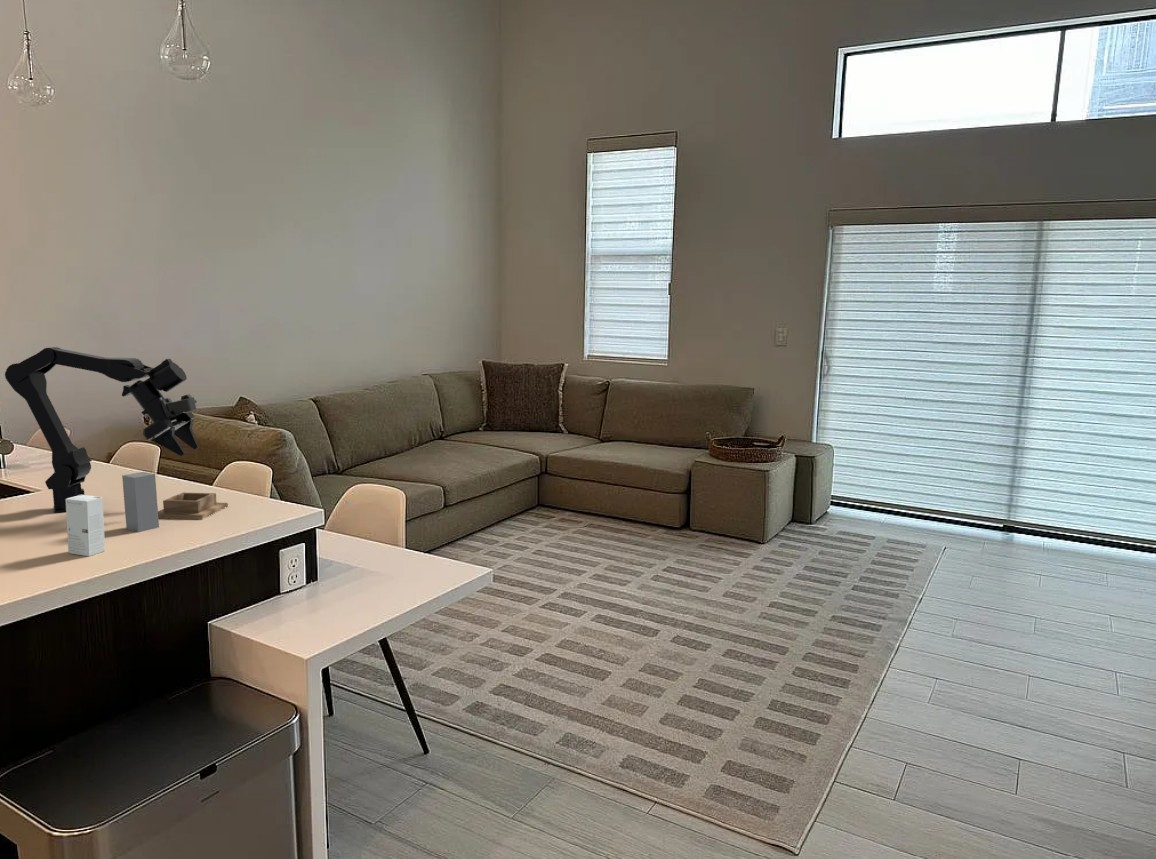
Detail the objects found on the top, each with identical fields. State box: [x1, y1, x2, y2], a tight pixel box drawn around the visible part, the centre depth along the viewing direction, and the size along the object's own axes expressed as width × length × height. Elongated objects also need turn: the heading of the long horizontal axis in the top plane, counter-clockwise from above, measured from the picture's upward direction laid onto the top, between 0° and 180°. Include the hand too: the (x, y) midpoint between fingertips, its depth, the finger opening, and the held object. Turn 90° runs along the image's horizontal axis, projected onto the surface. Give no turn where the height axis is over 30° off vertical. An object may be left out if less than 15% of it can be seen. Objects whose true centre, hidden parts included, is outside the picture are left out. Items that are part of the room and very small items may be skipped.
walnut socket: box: [158, 492, 229, 520], centre depth 207 cm, size 13×13×4 cm
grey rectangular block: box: [121, 471, 160, 533], centre depth 192 cm, size 5×5×13 cm
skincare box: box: [65, 494, 106, 557], centre depth 173 cm, size 6×4×12 cm
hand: (189, 451), depth 210 cm, fingers open, 9 cm apart
